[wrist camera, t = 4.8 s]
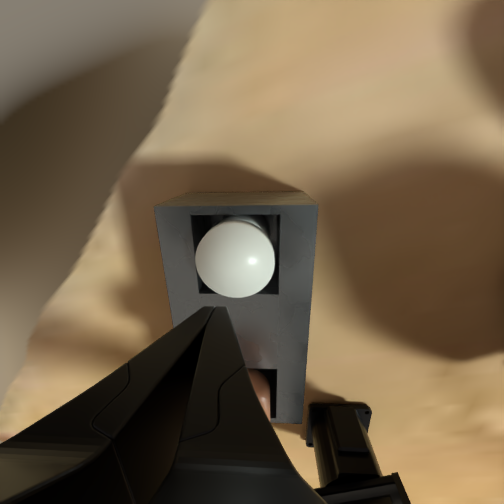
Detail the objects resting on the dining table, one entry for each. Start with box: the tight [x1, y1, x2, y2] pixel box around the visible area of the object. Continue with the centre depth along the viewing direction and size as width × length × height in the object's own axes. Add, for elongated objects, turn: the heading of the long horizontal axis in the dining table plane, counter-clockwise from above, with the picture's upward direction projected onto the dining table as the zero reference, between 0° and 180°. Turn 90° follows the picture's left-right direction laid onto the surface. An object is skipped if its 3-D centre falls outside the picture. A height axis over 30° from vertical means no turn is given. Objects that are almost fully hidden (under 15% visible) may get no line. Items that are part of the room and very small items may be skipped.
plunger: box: [195, 214, 275, 298], centre depth 16 cm, size 4×4×6 cm
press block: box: [154, 191, 318, 424], centre depth 19 cm, size 17×9×6 cm, turn 1°
